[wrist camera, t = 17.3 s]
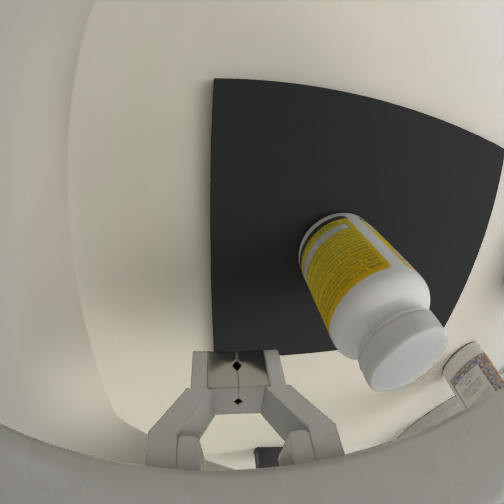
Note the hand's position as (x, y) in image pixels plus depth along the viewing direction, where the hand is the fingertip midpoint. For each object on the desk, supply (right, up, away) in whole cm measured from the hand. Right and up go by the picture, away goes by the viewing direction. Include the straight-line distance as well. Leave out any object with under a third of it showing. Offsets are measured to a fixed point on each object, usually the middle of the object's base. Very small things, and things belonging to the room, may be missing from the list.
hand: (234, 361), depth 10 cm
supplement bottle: (+6, +4, +8) cm, 11 cm away
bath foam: (+31, -11, +21) cm, 39 cm away
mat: (+10, +4, +9) cm, 14 cm away
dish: (+42, -33, +34) cm, 64 cm away
